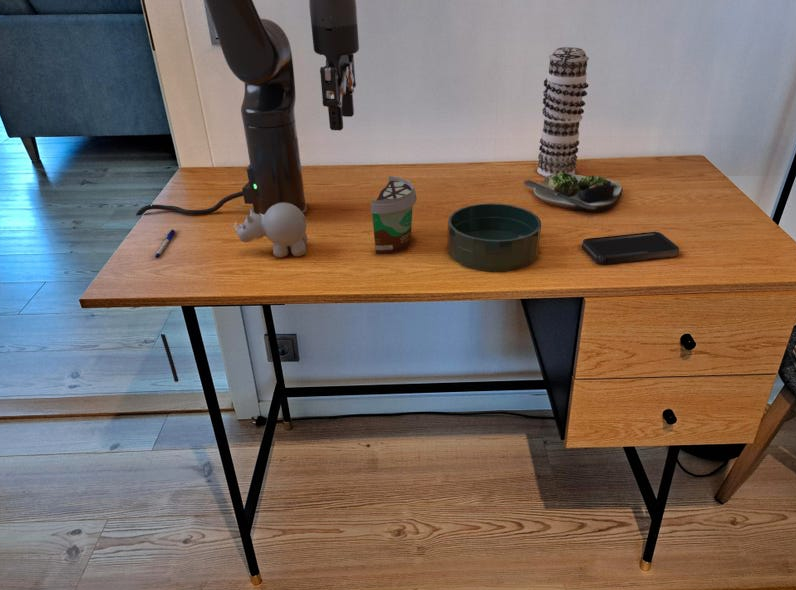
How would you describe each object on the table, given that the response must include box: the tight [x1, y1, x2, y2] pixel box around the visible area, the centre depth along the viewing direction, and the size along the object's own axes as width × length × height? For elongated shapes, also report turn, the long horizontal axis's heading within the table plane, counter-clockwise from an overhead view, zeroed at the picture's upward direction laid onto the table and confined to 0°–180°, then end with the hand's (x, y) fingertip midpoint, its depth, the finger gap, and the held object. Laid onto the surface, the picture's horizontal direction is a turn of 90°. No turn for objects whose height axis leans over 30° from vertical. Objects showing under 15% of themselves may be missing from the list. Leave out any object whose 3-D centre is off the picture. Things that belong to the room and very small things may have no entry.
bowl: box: [447, 202, 542, 273], centre depth 109 cm, size 16×16×6 cm
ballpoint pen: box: [155, 229, 176, 259], centre depth 113 cm, size 10×1×1 cm, turn 4°
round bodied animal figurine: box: [234, 203, 308, 258], centre depth 108 cm, size 7×12×8 cm, turn 93°
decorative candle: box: [536, 46, 590, 178], centre depth 136 cm, size 9×9×25 cm
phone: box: [581, 231, 680, 265], centre depth 110 cm, size 8×1×15 cm
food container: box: [370, 175, 418, 255], centre depth 110 cm, size 12×6×10 cm, turn 168°
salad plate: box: [523, 172, 624, 213], centre depth 130 cm, size 19×18×5 cm
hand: (342, 122), depth 114 cm, fingers open, 8 cm apart
